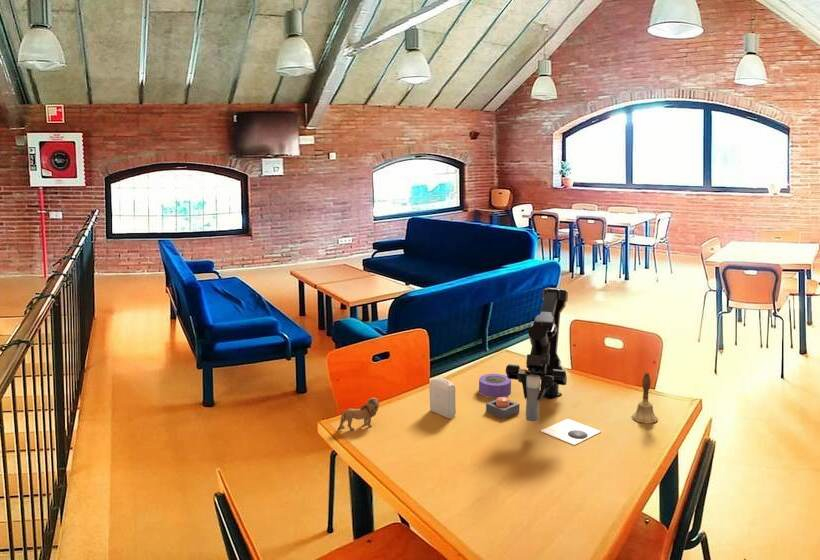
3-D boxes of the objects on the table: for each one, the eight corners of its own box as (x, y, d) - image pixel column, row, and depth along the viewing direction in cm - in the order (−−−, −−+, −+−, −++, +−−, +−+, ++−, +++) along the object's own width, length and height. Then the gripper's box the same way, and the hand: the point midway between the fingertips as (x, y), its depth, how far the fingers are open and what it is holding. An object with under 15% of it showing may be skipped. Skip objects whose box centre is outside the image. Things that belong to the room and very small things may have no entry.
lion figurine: (375, 419, 225) (375, 394, 223) (382, 425, 220) (381, 399, 218) (334, 428, 218) (333, 402, 216) (340, 434, 213) (339, 408, 212)
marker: (531, 414, 214) (532, 373, 211) (541, 419, 211) (543, 377, 208) (522, 418, 212) (523, 376, 208) (533, 422, 208) (534, 380, 205)
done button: (502, 405, 232) (502, 395, 231) (512, 409, 228) (512, 399, 228) (493, 409, 229) (493, 399, 228) (503, 413, 226) (503, 403, 225)
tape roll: (512, 398, 241) (513, 384, 240) (480, 398, 242) (480, 385, 240) (508, 385, 253) (508, 373, 252) (477, 386, 253) (477, 373, 252)
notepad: (567, 419, 222) (567, 418, 222) (601, 432, 213) (601, 431, 212) (540, 431, 214) (540, 430, 213) (574, 445, 204) (574, 444, 204)
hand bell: (627, 419, 222) (629, 373, 219) (638, 411, 228) (640, 367, 224) (651, 426, 216) (654, 379, 213) (662, 418, 222) (665, 372, 219)
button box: (501, 405, 234) (502, 397, 234) (519, 412, 228) (519, 404, 228) (486, 411, 229) (486, 403, 229) (503, 418, 223) (503, 410, 223)
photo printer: (427, 410, 231) (427, 376, 229) (437, 407, 234) (437, 373, 231) (448, 419, 223) (448, 384, 221) (457, 416, 226) (457, 381, 223)
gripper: (507, 340, 213) (498, 385, 205) (566, 345, 206) (560, 392, 199) (512, 356, 222) (504, 399, 214) (569, 362, 215) (563, 407, 208)
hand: (532, 399), depth 208 cm, fingers closed on marker, 4 cm apart
